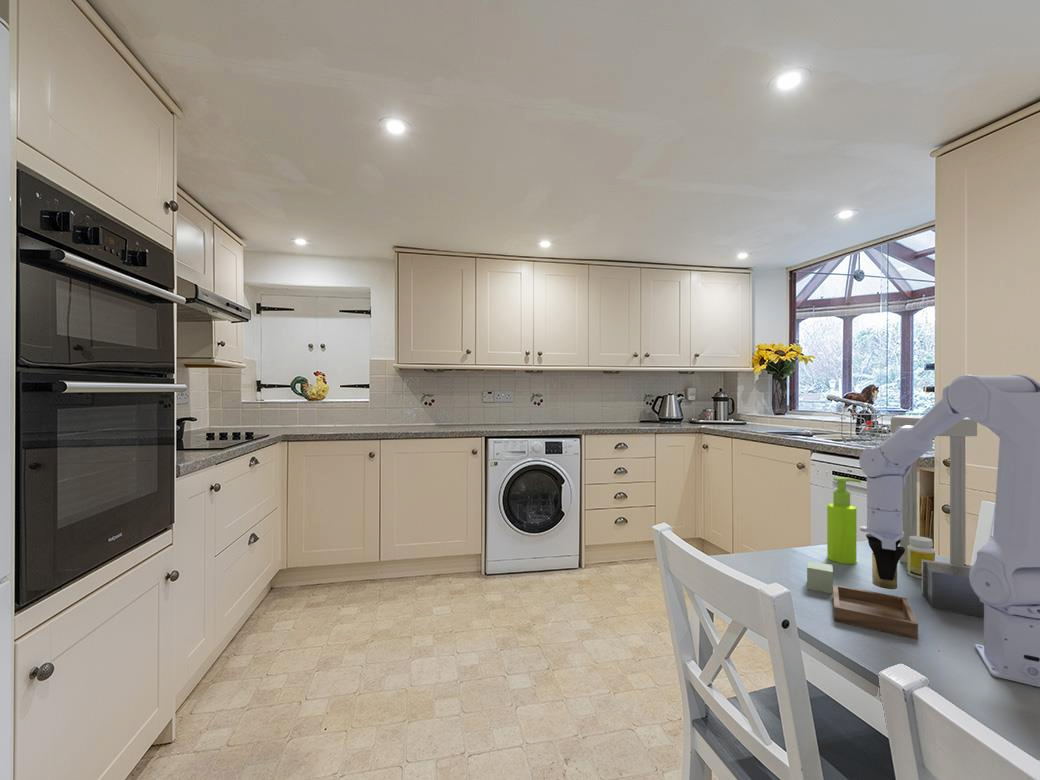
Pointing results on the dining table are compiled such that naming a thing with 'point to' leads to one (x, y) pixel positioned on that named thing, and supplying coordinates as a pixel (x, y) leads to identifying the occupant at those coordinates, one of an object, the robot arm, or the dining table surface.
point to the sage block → (820, 577)
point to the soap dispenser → (841, 525)
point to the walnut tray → (874, 611)
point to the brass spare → (881, 582)
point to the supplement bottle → (918, 554)
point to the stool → (956, 487)
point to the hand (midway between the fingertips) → (884, 575)
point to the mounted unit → (950, 588)
